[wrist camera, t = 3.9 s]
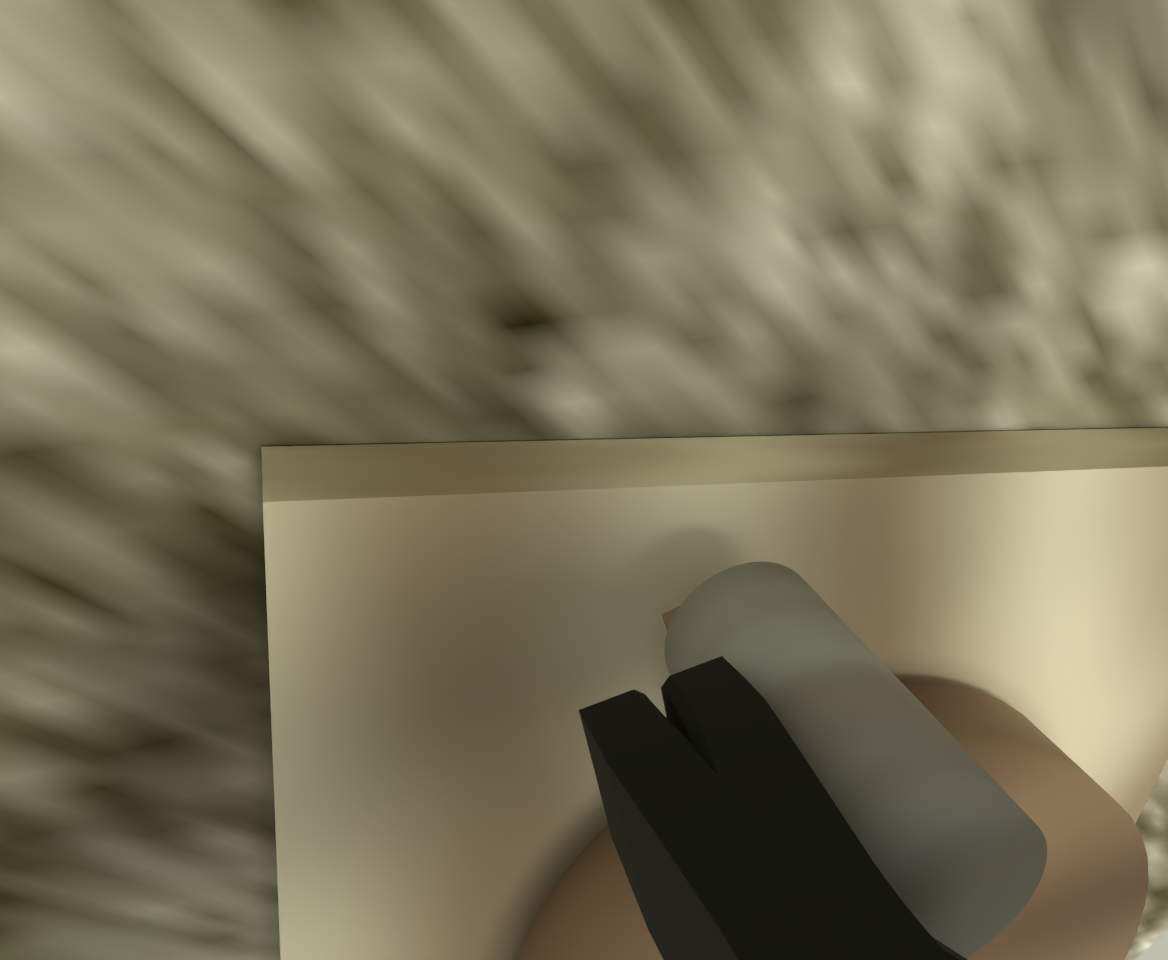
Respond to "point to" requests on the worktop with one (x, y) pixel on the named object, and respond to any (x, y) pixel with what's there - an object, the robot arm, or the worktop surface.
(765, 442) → the wooden cutting board
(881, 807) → the crank dial
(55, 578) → the worktop surface
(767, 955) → the robot arm
